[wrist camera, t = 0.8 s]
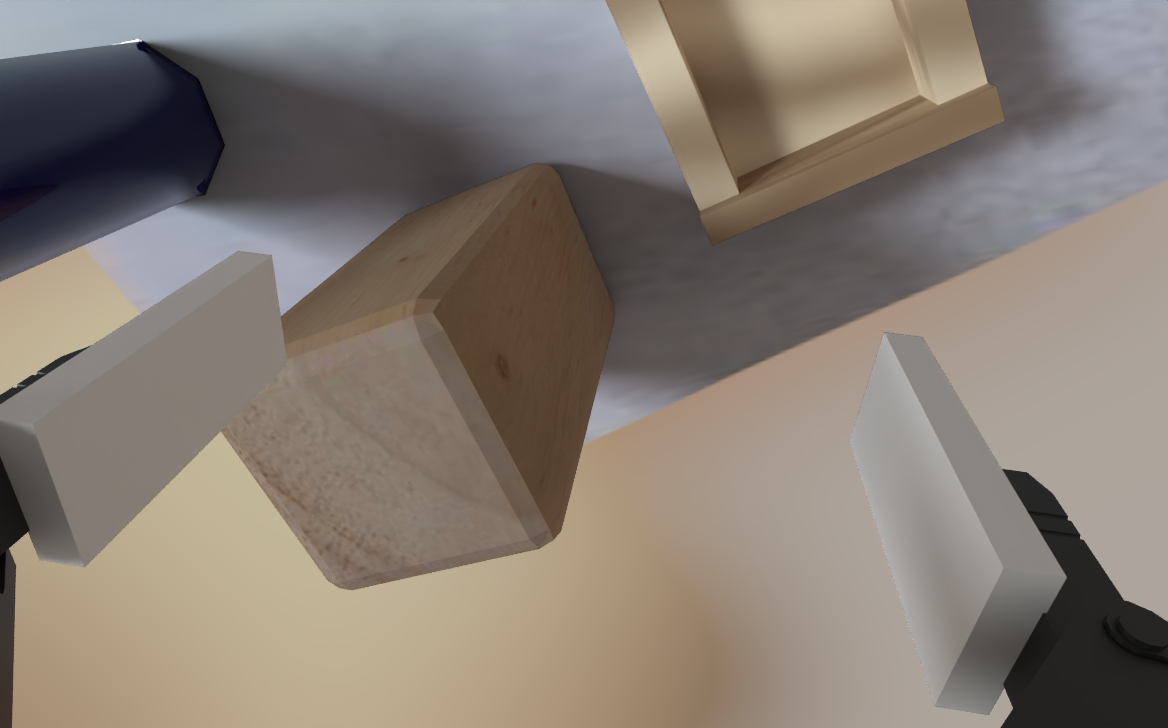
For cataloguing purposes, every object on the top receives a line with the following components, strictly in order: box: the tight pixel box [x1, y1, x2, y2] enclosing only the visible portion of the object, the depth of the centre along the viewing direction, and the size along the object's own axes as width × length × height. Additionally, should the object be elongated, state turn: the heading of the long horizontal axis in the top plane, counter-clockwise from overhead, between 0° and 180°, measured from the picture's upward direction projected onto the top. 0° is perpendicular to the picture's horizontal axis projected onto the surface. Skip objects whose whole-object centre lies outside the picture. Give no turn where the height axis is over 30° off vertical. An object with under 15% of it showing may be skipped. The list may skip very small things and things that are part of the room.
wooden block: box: [221, 163, 615, 590], centre depth 33 cm, size 10×10×20 cm
